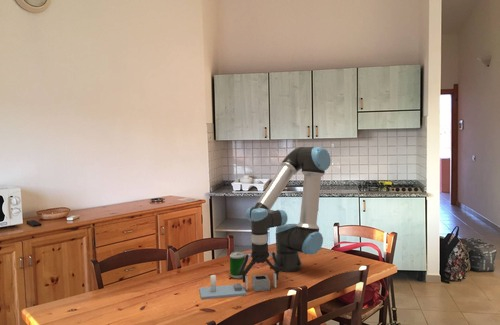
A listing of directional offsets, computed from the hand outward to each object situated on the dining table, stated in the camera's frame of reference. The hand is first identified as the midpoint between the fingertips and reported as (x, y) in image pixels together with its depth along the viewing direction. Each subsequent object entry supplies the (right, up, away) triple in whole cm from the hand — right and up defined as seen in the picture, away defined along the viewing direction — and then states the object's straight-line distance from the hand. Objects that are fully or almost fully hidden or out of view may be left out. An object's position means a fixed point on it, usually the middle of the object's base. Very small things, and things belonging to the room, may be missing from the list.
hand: (260, 288), depth 196 cm
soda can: (-11, 0, +17) cm, 21 cm away
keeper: (-17, -1, -4) cm, 18 cm away
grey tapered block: (0, 0, 0) cm, 0 cm away
